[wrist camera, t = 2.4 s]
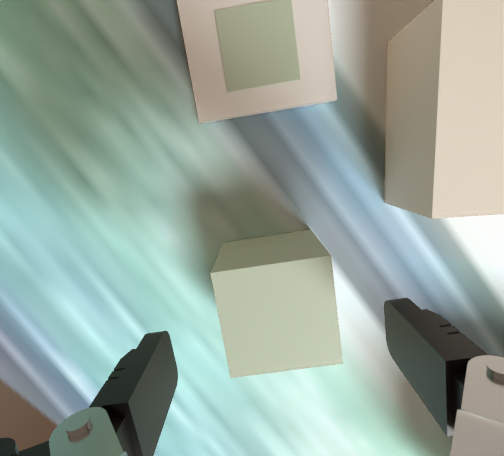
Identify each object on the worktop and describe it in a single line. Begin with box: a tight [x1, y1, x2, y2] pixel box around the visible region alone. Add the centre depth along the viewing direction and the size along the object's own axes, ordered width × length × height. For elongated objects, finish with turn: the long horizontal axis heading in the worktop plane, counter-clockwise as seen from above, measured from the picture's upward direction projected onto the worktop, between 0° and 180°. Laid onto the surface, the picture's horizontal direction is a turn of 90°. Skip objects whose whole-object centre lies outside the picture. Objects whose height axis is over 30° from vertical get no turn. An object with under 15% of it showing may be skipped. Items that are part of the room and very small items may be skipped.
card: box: [177, 0, 337, 124], centre depth 15 cm, size 7×6×1 cm
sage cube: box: [210, 229, 343, 378], centre depth 16 cm, size 5×5×5 cm
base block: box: [385, 0, 504, 218], centre depth 14 cm, size 8×8×5 cm
